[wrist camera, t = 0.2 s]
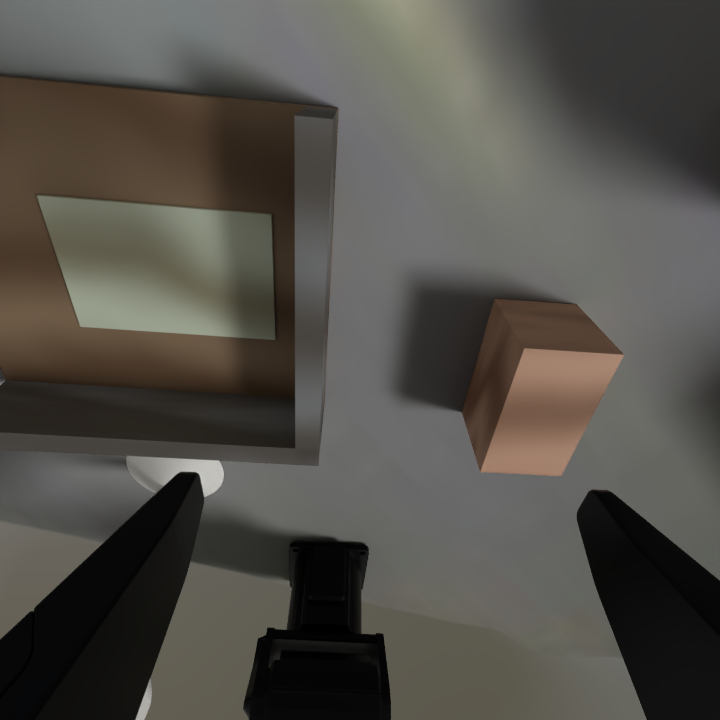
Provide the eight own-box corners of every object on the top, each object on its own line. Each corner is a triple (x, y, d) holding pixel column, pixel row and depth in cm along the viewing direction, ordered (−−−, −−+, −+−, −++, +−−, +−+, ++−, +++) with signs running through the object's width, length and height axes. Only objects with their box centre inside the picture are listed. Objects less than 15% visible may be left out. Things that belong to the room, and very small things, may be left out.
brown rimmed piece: (324, 404, 26) (318, 465, 22) (25, 386, 25) (-39, 447, 21) (338, 107, 17) (332, 119, 13) (-123, 62, 16) (-284, 59, 12)
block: (530, 414, 27) (561, 475, 23) (461, 410, 27) (480, 471, 23) (575, 303, 23) (624, 354, 19) (493, 297, 23) (524, 348, 18)
